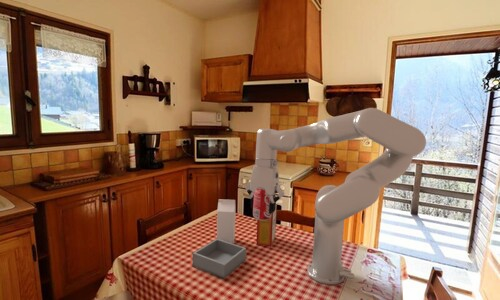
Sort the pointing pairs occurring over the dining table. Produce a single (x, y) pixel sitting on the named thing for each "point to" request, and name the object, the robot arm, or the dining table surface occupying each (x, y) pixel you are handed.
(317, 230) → the robot arm
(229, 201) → the milk carton
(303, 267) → the dining table surface
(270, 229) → the baking soda box
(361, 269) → the dining table surface
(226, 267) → the bin
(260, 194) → the soda can
